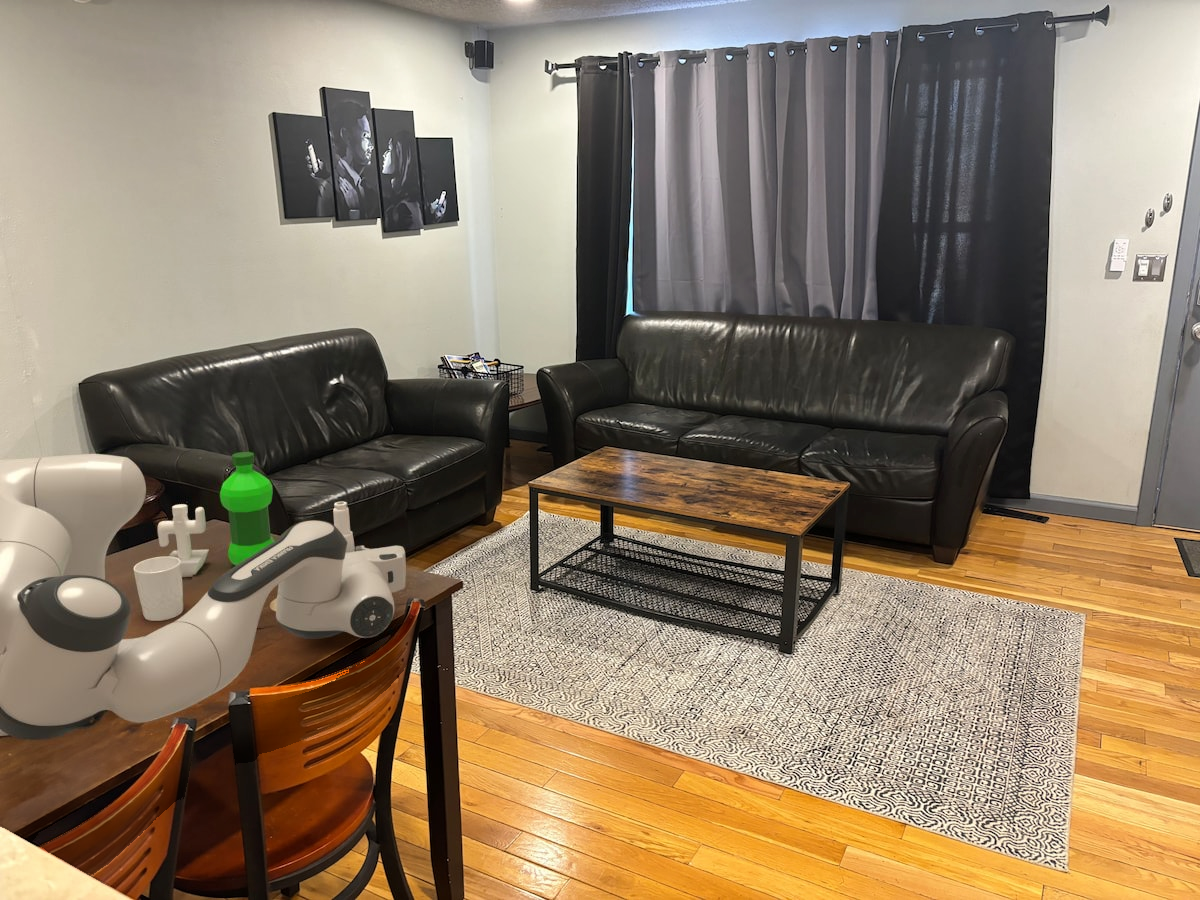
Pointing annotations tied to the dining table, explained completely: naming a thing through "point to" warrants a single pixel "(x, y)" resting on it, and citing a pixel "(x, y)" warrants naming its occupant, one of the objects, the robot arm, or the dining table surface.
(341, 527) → the cosmetic bottle
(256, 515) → the plastic bottle
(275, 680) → the dining table surface
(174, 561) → the white cup
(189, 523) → the figurine
